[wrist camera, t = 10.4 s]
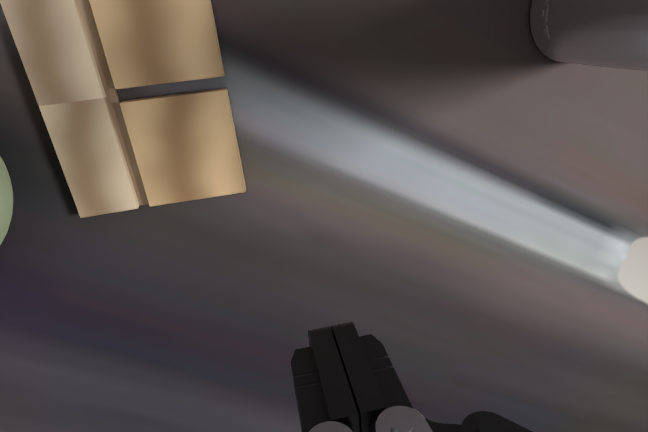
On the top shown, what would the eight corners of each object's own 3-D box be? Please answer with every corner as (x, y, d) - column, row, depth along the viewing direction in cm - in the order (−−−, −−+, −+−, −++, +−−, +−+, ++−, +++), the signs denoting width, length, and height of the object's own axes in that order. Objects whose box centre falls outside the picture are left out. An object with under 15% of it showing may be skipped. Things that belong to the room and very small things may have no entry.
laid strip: (78, -41, 29) (72, -44, 28) (149, 201, 36) (147, 206, 35) (-6, -34, 28) (-15, -37, 27) (84, 212, 36) (80, 217, 35)
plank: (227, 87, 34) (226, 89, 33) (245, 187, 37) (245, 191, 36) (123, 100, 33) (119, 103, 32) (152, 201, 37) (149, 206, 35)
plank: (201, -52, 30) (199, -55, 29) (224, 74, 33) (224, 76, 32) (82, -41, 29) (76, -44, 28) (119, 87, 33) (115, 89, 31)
